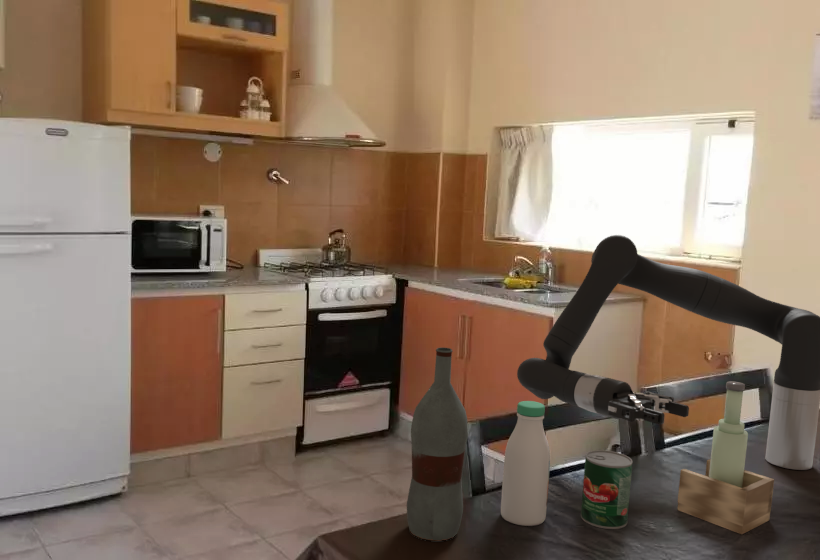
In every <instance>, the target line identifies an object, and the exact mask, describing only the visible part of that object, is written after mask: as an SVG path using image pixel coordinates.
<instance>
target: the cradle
mask: <svg viewBox="0 0 820 560" xmlns="http://www.w3.org/2000/svg"><path fill="white" fill-rule="evenodd" d="M710 461H711V458H709V459H707V460H706V464H705V465H706V467H705V474H701V473H698V472H694V471H692V470H689V469H686V468H682V469H680V474H679V485H678V494H677V511H679V512H681V513H684V514H687V515H689V516H692V517H695V518H698V519H701V520H702V521H705V522H708V523H710V524H713V525H716V526H719V527H722V528H724V529H727V530H728V531H732V532H735V533H737V534H739V535H744V534H745V533H747V532H749V531H752V530H754V529H756V528H758V527H759V526H761V525H763V524H765V523H767V522H768V521H770V518H771V517H770V516H771V510H772V504H773V503H772V502H773V494H774V484H775V479H774V478H771V477H768V476H765V475H762V474H758V473H756V472H752V471H750V470H746V469H744V476H743V485H742V488H740V487H737V486H734V485H731V484H728V483H725V482H722V481H719V480H716V479H713V478H710V477H709V471H710Z"/></svg>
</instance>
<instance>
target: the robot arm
mask: <svg viewBox="0 0 820 560" xmlns="http://www.w3.org/2000/svg"><path fill="white" fill-rule="evenodd" d="M590 262H591V264H590V267H589V269H588V272H587V274H586V276H585V277H584V279H583V281H582V283H581V284H580V286H579V287H578V288H577V290H576V292H575V293H574V295H573V296H572V298H571V299H570V300H569V302H568V304H567V305H565V308H564V309H563V311H562V312H561V313H560V314H559V316H558V318H557V319H556V320H555V322H554V324H553V326H552V327H551V329H550V330H549V332H548V333H547V335H546V336H545V337H544V341H543V342H542V343H543V349H544V351H545V352H546V357H545V359H544V358H540V357H530V358H528V359H527V358H526V359H525V360H523V361H522V362H521V363H520V364H519V366H518V368H517V371H516V376H517V377H516V378H517V380H518V381H519V384H520V385H521V386H522V387H523V388H525V389H526V390H527V391H529V392H530V393H531V394H533V395H534V396H535V397H537V398H539V399H541V400H549V399H551V398H554V397H555V398H556V399H558V400H559V401H560V402H563V403H566V404H568V405H571V406H574V407H578V408H581V409H583V410H585V411H588V412H591V413H595V414H599V415H602V416H605V417H609V418H612V419H615V420H620V419H622V420H625V421H629V422H632V423H633V422H636V420H637V421H638V422H643V421H645V422H650V423H653V424H656V425H659V426H660V425H663V424H665V413H666V414H672V415H674V416H679V417H683V418H686V417H689V412H690V408H689V405H687V404H683V403H679V402H675V398H674V397H673V396H668V395H665V394H664V395H663V394H660V393H657V392H656V393H655V392H651V391H645V393H643V392H635V393H634V391H633V389H632V386H630V384H629V383H628V382H626V381H622V380H618V379H615V378H611V377H606V376H604V375H602V376H601V375H599V374H591V373H585V372H582V371H577V370H572V369H570V367H571V362H572V359H573V356H574V355H575V353H576V352H577V351H578V349H579V347H580V346H581V344H582V342H583V340H584V339H585V337H586V336H587V334H588V332H589V330H590V329H591V327H592V325H593V323H594V321H595V319H596V317H597V316H598V314H599V312H600V310H601V309H602V307H603V305H604V304H605V302H606V300H607V299H608V298H609V296H610V295H611V293H612V292H613V290H614V289H615V288H616V287H617V286H618V285H622V286H626V287H629V288H632V289H636V290H638V291H643V292H645V293H647V294H650V295H652V296H655V297H657V298H659V299H661V300H663V301H665V302H667V303H670V304H672V305H673V306H677V307H679V308H682V309H684V310H685V311H688V312H689V313H690V312H691V313H693V314H696V315H698V316H701V317H704V318H707V319H709V320H713V321H715V322H719V323H723V324H728V325H732V326H738V327H742V328H747V329H749V330H751V331H754V332H757V333H759V334H761V335H763V336H766V337H768V338H770V339H772V340H774V341H775V342H778V343H779V344H780V345H782V346H781V352H780V358H779V364H778V367H777V368H776V370H775V371H774V377H773V386H772V394H771V395H772V396H771V404H770V412H769V413H770V414H769V423H768V424H769V425H768V431H767V440H766V446H765V447H766V449H765V457H764V458H765V460H766V462H768V463H770V464H772V465H774V466H777V467H780V468H785V469H790V470H796V471H797V470H798V471H807V470H810V469H813V461H814V454H815V447H816V439H817V430H818V424H819V423H818V421H819V414H820V315H817V314H816V313H814V312H812V311H810V310H807V309H803V308H798V307H794V306H790V305H788V304H782V303H781V302H780V303H779V302H775V301H772V300H769V299H767V298H765V297H761V296H759V295H757V294H755V293H754V292H751V291H749V290H748V289H746V288H744V287H743V286H740V285H738V284H736V283H734V282H732V281H729V280H727V279H724V278H722V277H719V276H717V275H715V274H712V273H709V272H707V271H703V270H701V269H696V268H692V267H687V266H681V265H680V266H679V265H673V264H667V263H661V262H659V261H655V260H652V259H650V258H648V257H645V256H644V255H642V254H639V253H638V249H637V247H636V244H635V243H634V242H633V241H632V240H631V238H629V237H627V236H626V235H621V234H614V235H609V236H607V237H605V238H604V239H602V240H601V241H600V242H599V243H598V244H597V246H596V247H595V249H594V251H593V253H592V255H591V261H590ZM663 403H664V404H663ZM652 407H653V409H652Z"/></svg>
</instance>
